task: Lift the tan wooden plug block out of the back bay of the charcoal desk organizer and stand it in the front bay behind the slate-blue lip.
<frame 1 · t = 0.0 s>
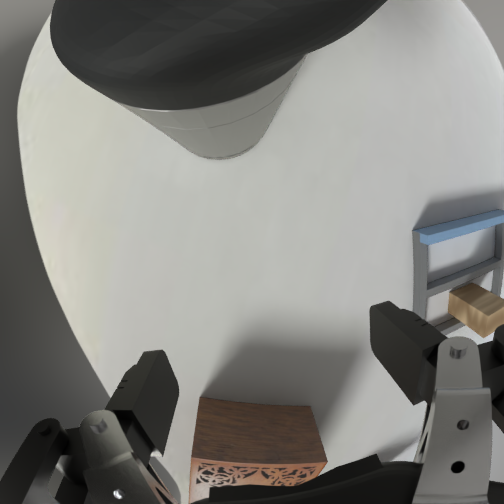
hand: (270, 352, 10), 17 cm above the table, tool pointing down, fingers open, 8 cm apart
organizer: (462, 273, 29), on the table
tissue box cover: (240, 453, 35), on the table
plug block: (460, 297, 30), resting in organizer
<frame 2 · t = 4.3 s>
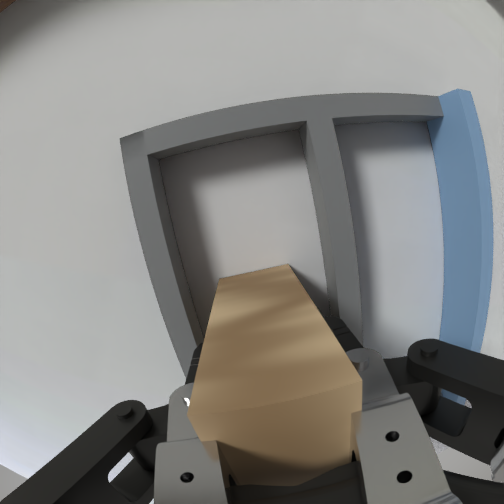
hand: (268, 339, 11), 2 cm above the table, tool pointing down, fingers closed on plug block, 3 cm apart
organizer: (339, 304, 12), on the table
plug block: (265, 323, 12), resting in organizer, touching gripper
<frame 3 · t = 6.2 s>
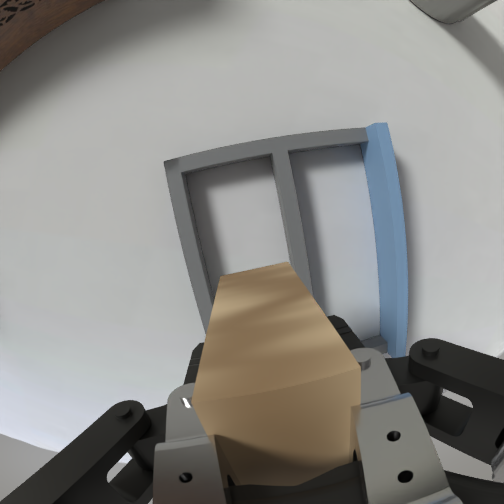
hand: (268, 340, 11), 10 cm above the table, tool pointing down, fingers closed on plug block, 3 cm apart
organizer: (297, 264, 20), on the table
tissue box cover: (33, 13, 13), on the table
plug block: (265, 320, 13), point 8 cm above the table, touching gripper
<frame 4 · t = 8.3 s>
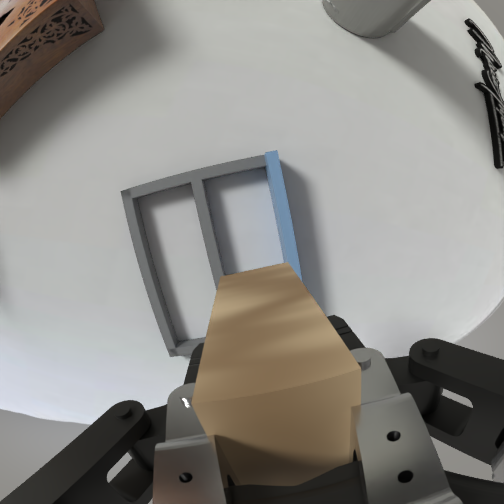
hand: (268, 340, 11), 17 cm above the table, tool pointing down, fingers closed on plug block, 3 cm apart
nameplate: (488, 88, 24), on the table
organizer: (216, 261, 27), on the table
tissue box cover: (25, 58, 21), on the table
plug block: (265, 320, 13), point 15 cm above the table, touching gripper
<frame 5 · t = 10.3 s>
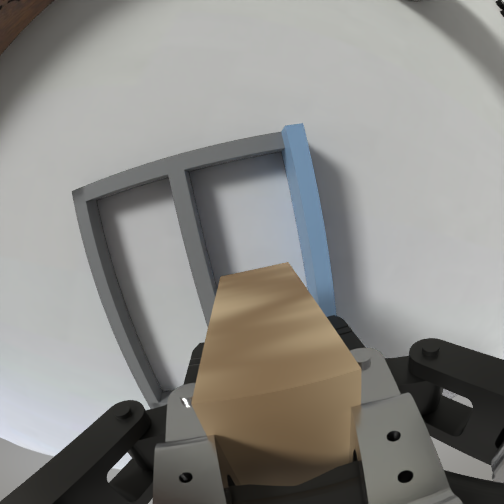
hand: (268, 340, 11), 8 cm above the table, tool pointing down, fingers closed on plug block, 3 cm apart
organizer: (210, 291, 18), on the table
plug block: (265, 320, 13), point 6 cm above the table, touching gripper
when the fingers open (3 cm above the table, at t = 12.2 s): plug block drops 1 cm, resting in organizer.
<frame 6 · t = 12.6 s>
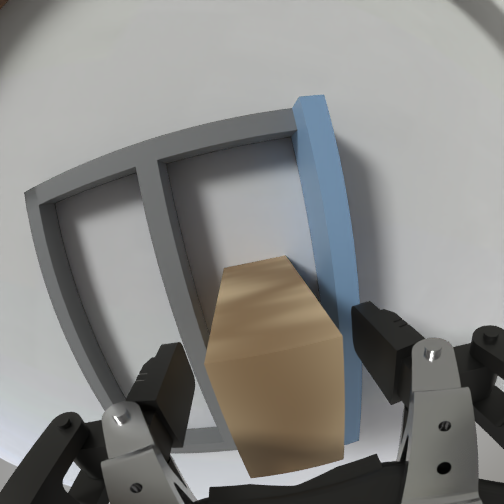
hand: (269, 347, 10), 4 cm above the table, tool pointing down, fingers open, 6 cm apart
organizer: (195, 322, 14), on the table
plug block: (264, 308, 14), resting in organizer
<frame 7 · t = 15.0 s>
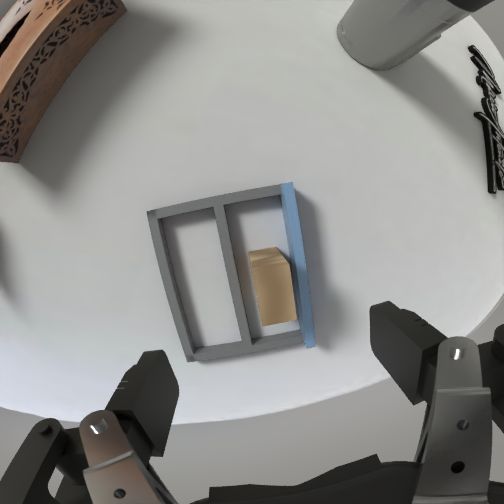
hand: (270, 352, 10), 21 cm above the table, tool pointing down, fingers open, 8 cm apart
nameplate: (486, 115, 28), on the table
organizer: (233, 277, 31), on the table
tissue box cover: (42, 67, 24), on the table
plug block: (265, 271, 31), resting in organizer
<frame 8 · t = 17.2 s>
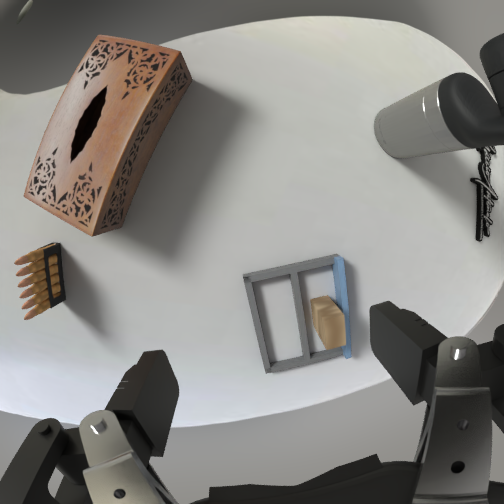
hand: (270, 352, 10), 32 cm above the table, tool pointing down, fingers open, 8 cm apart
ammunition clip: (59, 271, 41), on the table
nameplate: (481, 176, 41), on the table
organizer: (299, 316, 44), on the table
tissue box cover: (118, 136, 38), on the table
plug block: (320, 310, 44), resting in organizer
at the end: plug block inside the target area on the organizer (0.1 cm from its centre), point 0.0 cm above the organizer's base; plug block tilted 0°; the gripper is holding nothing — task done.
